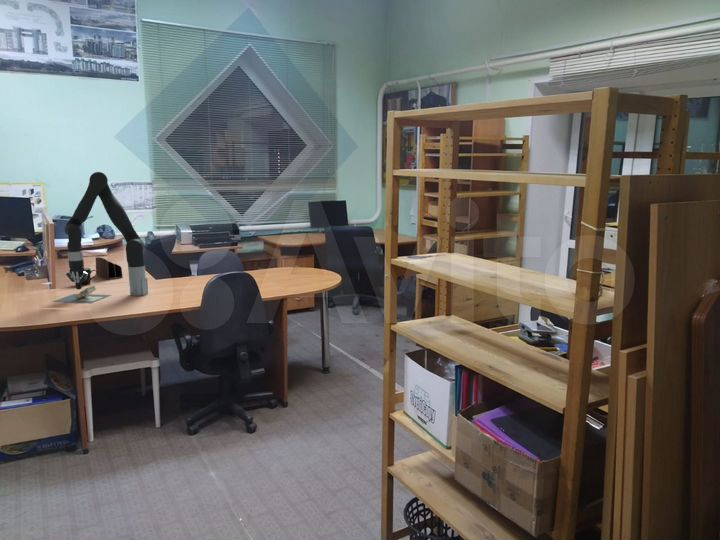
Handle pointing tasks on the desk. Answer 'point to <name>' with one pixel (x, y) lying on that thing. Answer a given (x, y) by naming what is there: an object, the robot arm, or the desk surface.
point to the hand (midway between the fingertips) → (78, 289)
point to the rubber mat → (82, 299)
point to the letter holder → (108, 269)
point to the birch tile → (85, 292)
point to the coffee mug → (87, 280)
